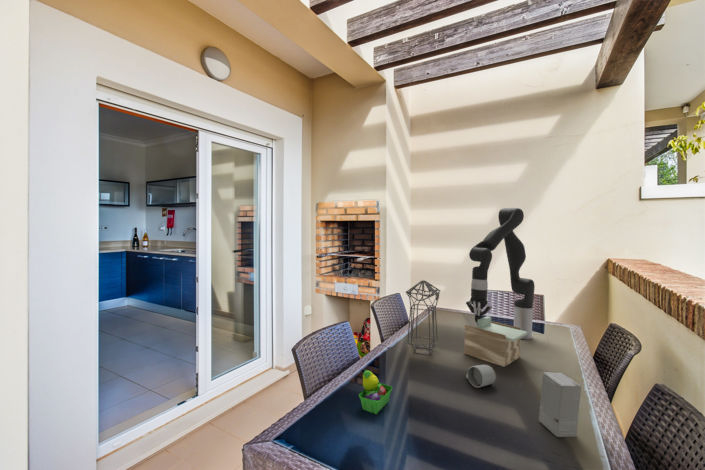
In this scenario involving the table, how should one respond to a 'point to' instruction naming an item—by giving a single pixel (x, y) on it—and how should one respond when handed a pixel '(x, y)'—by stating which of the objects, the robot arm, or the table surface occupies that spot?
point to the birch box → (491, 345)
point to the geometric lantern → (423, 309)
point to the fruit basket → (374, 393)
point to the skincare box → (559, 404)
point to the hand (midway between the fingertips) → (477, 322)
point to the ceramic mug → (481, 375)
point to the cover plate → (500, 329)
